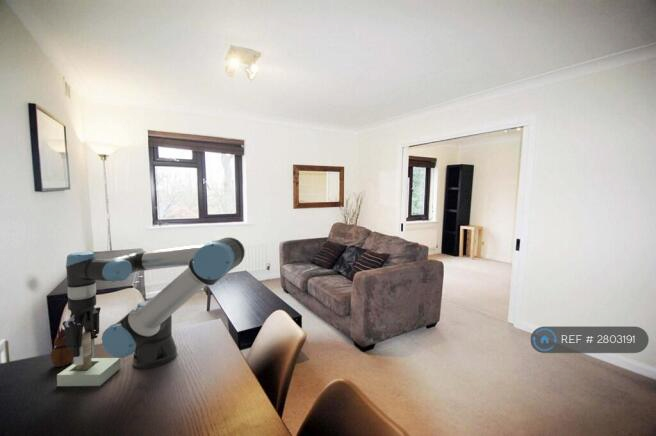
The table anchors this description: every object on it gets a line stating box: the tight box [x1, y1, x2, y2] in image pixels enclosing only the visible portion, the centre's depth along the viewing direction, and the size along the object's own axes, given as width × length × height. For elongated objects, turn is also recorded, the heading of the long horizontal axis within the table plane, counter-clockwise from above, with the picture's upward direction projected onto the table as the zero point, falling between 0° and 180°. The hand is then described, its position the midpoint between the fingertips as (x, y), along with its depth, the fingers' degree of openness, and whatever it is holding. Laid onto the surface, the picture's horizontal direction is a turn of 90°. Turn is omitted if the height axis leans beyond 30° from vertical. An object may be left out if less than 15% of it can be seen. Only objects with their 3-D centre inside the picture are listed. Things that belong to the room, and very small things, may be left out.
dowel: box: [77, 331, 92, 371], centre depth 99 cm, size 4×4×15 cm
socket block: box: [56, 357, 121, 387], centre depth 100 cm, size 14×10×4 cm
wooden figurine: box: [50, 327, 74, 368], centre depth 106 cm, size 7×6×15 cm
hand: (84, 360), depth 99 cm, fingers closed on dowel, 4 cm apart
